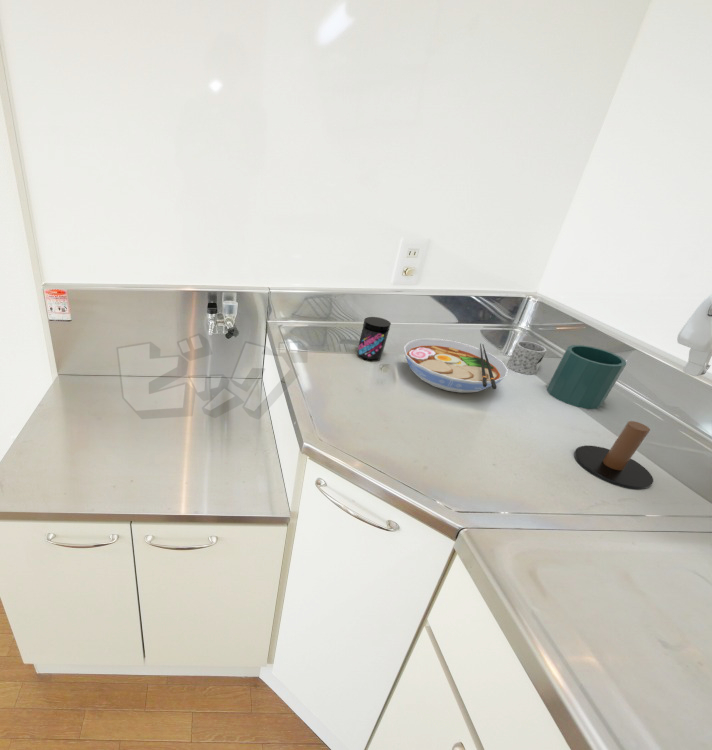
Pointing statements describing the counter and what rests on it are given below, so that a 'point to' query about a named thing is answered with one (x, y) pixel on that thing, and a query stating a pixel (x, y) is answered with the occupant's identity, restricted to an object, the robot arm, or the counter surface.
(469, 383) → the ramen bowl
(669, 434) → the counter surface
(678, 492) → the counter surface
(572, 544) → the counter surface
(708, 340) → the robot arm
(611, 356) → the teal faceted tumbler
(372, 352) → the supplement container
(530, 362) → the mug
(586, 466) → the lid
